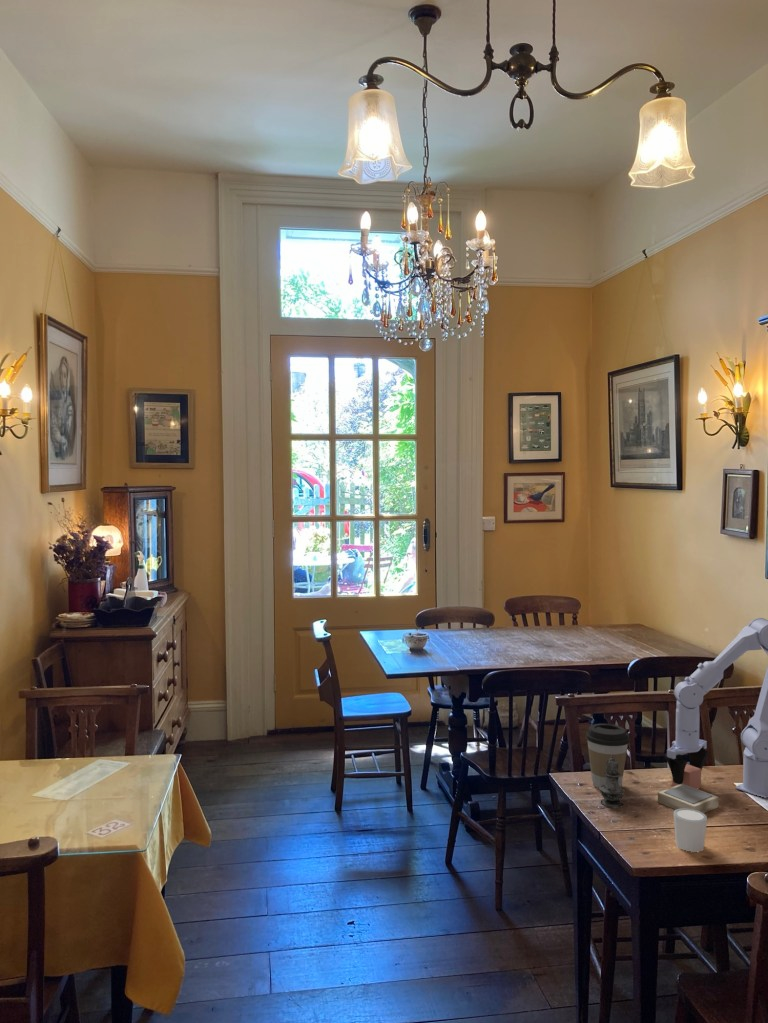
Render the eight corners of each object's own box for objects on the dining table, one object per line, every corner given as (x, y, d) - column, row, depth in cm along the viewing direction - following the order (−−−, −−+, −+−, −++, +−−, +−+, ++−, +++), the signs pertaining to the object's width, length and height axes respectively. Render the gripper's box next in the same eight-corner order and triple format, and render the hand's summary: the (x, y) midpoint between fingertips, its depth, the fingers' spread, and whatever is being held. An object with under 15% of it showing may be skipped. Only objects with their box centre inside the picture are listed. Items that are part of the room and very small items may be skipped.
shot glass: (703, 857, 157) (704, 824, 157) (669, 848, 161) (670, 816, 160) (709, 844, 163) (709, 812, 163) (676, 836, 167) (676, 805, 166)
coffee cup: (632, 781, 198) (632, 725, 197) (626, 797, 187) (627, 738, 187) (588, 774, 203) (588, 719, 202) (580, 789, 192) (581, 732, 192)
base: (681, 793, 190) (682, 782, 190) (718, 807, 182) (718, 796, 182) (657, 802, 185) (657, 791, 184) (694, 817, 176) (694, 805, 176)
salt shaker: (625, 809, 180) (626, 760, 180) (600, 807, 182) (601, 758, 181) (622, 799, 186) (623, 752, 186) (598, 797, 187) (599, 750, 187)
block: (683, 781, 198) (684, 763, 198) (700, 787, 194) (701, 768, 194) (672, 785, 195) (672, 766, 195) (689, 792, 191) (689, 772, 191)
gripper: (690, 719, 202) (689, 769, 202) (657, 729, 193) (656, 781, 194) (714, 726, 196) (713, 777, 196) (681, 736, 188) (680, 790, 188)
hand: (686, 780), depth 195 cm, fingers open, 7 cm apart
